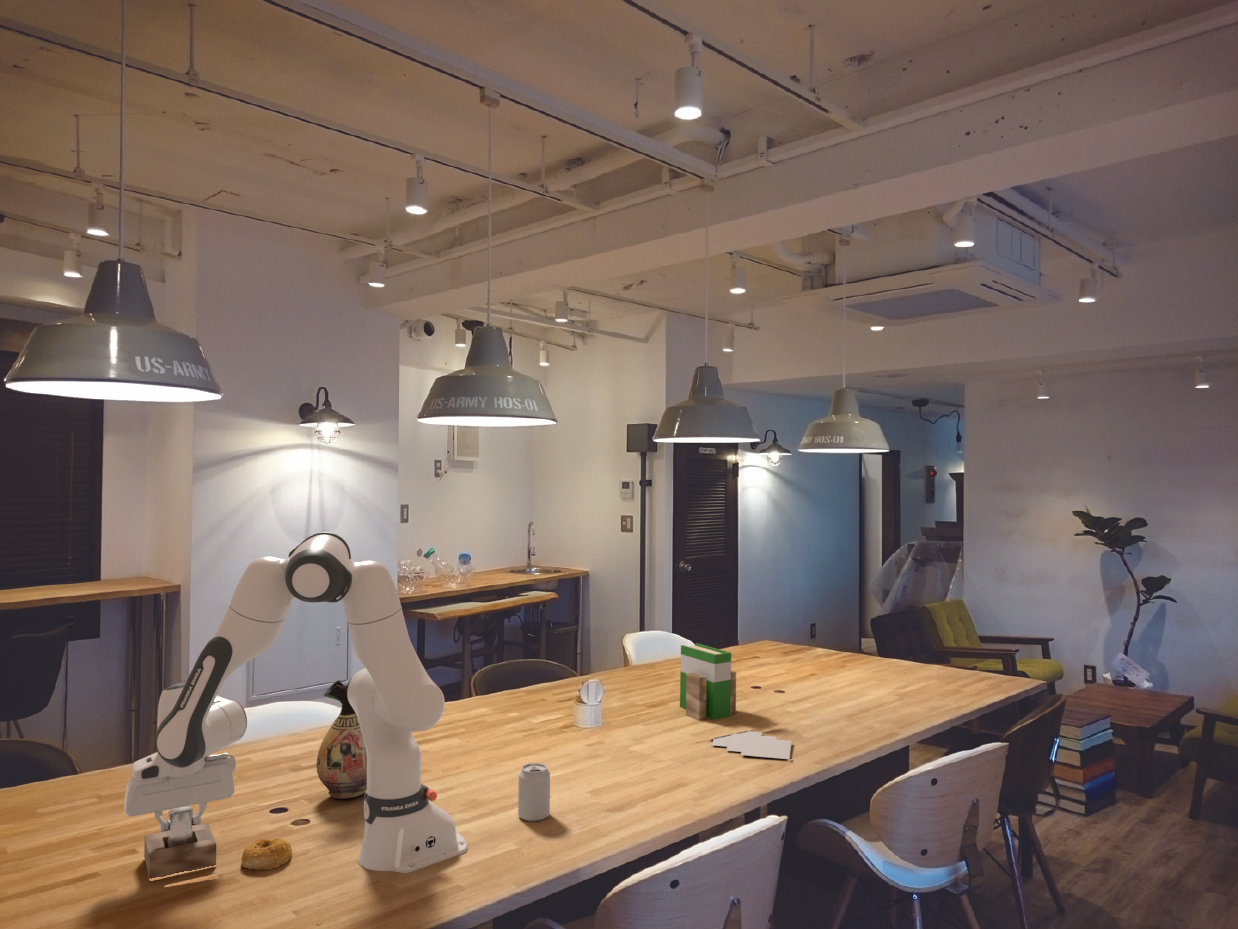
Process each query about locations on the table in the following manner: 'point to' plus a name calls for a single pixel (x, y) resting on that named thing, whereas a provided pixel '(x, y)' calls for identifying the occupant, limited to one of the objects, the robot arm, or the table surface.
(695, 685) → the bookend near
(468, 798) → the table surface
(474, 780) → the table surface
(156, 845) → the pocket block
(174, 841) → the part
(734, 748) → the paper stack
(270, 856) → the bagel
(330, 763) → the ceramic jug
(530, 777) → the can
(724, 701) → the hardback book
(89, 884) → the table surface
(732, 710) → the bookend far
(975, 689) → the table surface
